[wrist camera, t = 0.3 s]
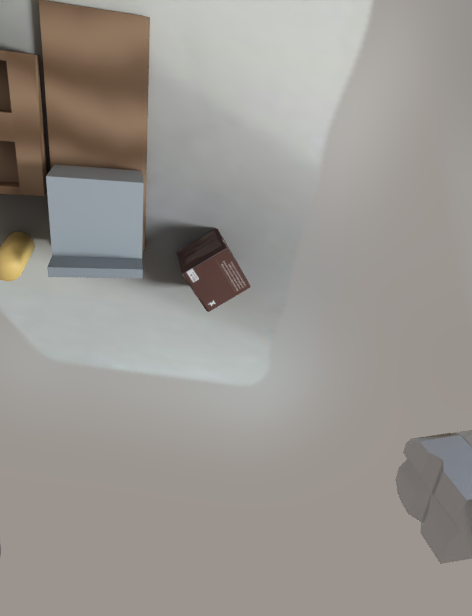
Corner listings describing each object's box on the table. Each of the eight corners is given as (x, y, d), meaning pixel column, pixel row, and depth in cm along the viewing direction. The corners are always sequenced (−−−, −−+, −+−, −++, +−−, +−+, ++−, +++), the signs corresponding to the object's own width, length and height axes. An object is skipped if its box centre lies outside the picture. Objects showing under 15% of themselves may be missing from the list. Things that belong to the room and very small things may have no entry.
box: (238, 264, 58) (252, 288, 52) (199, 287, 58) (207, 313, 52) (216, 226, 55) (228, 246, 49) (175, 250, 55) (181, 274, 49)
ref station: (40, 0, 41) (27, -9, 36) (149, 18, 43) (152, 11, 38) (57, 245, 52) (50, 264, 47) (144, 248, 54) (146, 266, 49)
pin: (4, 231, 50) (-13, 253, 44) (33, 232, 51) (20, 254, 45) (7, 255, 51) (-9, 280, 45) (35, 256, 52) (23, 281, 46)
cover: (54, 164, 47) (40, 183, 39) (141, 171, 49) (144, 190, 41) (60, 245, 51) (48, 276, 43) (140, 247, 53) (142, 278, 45)
